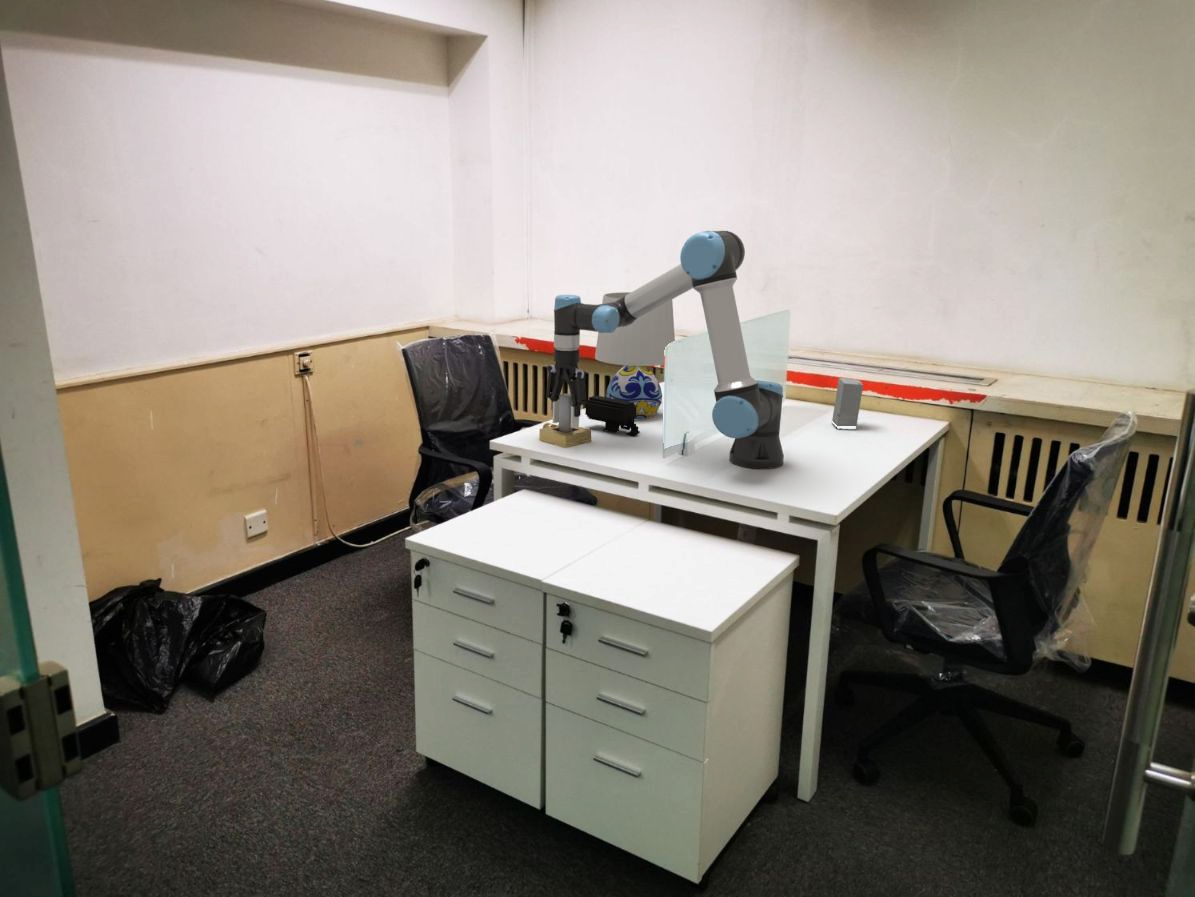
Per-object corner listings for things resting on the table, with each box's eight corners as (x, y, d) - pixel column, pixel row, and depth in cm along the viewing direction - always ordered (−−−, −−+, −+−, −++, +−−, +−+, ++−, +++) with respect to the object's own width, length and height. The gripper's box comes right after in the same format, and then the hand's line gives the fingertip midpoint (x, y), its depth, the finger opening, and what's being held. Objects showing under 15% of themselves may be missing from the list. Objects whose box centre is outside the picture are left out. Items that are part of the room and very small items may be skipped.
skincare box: (831, 423, 300) (835, 377, 296) (852, 424, 300) (857, 377, 296) (836, 430, 292) (841, 382, 288) (859, 430, 292) (864, 382, 287)
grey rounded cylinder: (576, 440, 271) (577, 395, 267) (565, 443, 268) (566, 397, 264) (565, 437, 274) (566, 392, 270) (555, 440, 271) (556, 395, 267)
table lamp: (604, 426, 290) (608, 300, 279) (585, 407, 315) (587, 291, 304) (684, 422, 296) (691, 300, 285) (659, 404, 322) (664, 291, 311)
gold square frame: (591, 441, 272) (591, 428, 270) (565, 447, 264) (565, 434, 263) (559, 432, 280) (559, 420, 279) (533, 438, 272) (533, 425, 271)
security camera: (630, 438, 275) (632, 406, 273) (583, 428, 286) (583, 397, 283) (643, 434, 281) (644, 403, 278) (596, 424, 291) (597, 394, 289)
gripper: (600, 351, 260) (598, 428, 266) (551, 342, 273) (551, 416, 279) (582, 354, 255) (580, 432, 261) (533, 345, 267) (533, 420, 274)
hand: (565, 424), depth 270 cm, fingers open, 7 cm apart
